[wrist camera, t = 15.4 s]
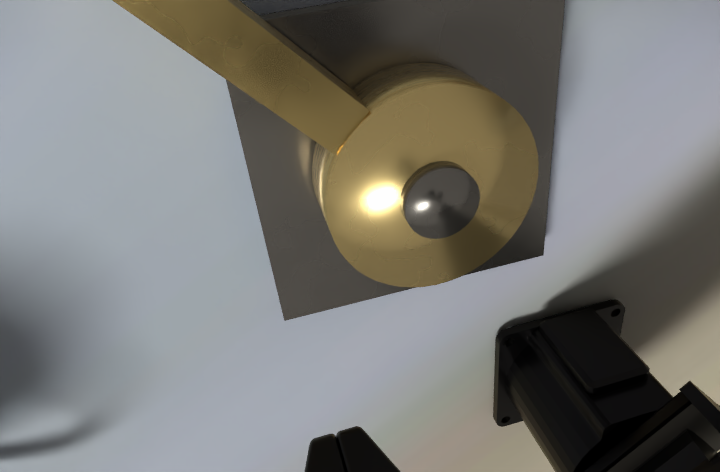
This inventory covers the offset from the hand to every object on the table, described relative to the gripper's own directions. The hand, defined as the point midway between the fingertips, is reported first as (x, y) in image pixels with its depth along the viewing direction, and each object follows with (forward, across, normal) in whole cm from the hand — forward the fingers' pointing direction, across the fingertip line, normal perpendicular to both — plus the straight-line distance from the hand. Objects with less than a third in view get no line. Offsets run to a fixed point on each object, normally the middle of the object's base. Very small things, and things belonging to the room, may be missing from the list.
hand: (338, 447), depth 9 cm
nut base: (+12, -5, +1) cm, 13 cm away
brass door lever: (+11, -2, -2) cm, 12 cm away
